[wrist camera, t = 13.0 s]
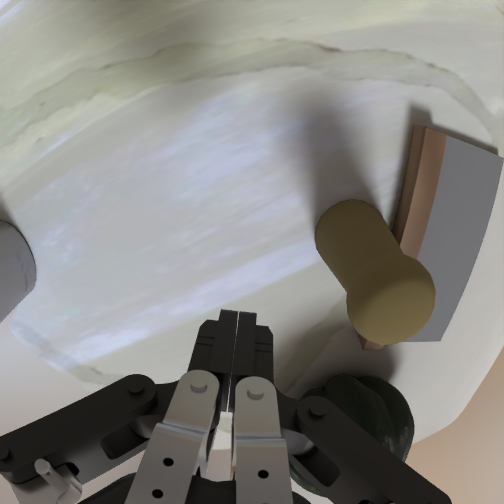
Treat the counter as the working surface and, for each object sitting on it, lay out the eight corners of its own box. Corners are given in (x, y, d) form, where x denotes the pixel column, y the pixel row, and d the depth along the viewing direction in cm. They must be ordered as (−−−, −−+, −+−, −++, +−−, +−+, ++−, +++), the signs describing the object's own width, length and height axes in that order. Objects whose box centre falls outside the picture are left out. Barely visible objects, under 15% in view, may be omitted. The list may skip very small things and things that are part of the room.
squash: (231, 432, 28) (303, 540, 20) (354, 354, 23) (441, 485, 16) (292, 404, 39) (345, 485, 32) (381, 343, 35) (441, 432, 27)
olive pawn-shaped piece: (391, 253, 25) (452, 335, 15) (327, 278, 26) (359, 374, 16) (375, 188, 22) (448, 247, 12) (304, 215, 23) (333, 294, 14)
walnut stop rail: (358, 336, 28) (363, 349, 27) (413, 125, 20) (426, 127, 18) (376, 336, 28) (381, 349, 27) (434, 131, 20) (447, 134, 18)
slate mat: (376, 336, 28) (378, 341, 28) (434, 131, 20) (439, 132, 19) (437, 336, 29) (440, 341, 28) (498, 156, 20) (503, 158, 19)
